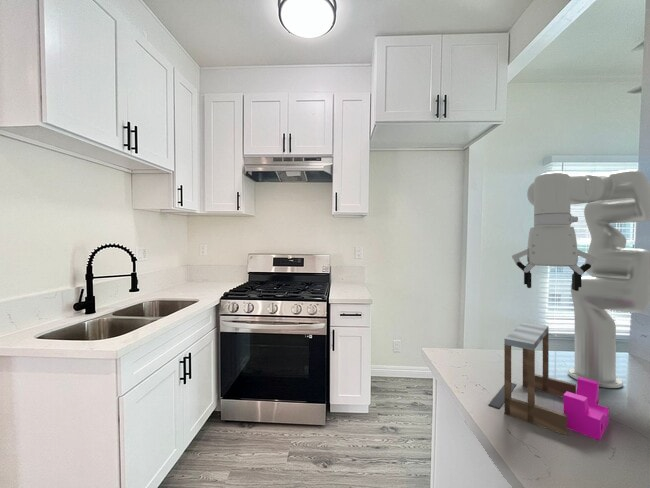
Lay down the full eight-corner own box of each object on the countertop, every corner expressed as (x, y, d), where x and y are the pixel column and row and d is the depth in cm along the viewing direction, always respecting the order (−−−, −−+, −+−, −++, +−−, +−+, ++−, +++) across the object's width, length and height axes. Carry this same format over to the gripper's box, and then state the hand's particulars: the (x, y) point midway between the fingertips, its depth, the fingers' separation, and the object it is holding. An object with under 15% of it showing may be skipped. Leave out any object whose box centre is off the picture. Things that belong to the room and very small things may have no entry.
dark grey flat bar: (506, 382, 92) (506, 381, 92) (516, 385, 90) (516, 384, 90) (488, 405, 79) (488, 404, 79) (499, 409, 77) (499, 407, 77)
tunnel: (523, 384, 90) (523, 322, 90) (575, 398, 82) (575, 330, 82) (504, 414, 75) (504, 338, 75) (566, 435, 67) (566, 350, 67)
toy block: (599, 441, 65) (599, 406, 65) (563, 427, 70) (563, 394, 70) (612, 416, 74) (612, 385, 74) (579, 405, 79) (579, 376, 79)
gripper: (590, 221, 78) (590, 289, 78) (511, 223, 86) (510, 284, 86) (600, 219, 71) (600, 293, 71) (513, 221, 79) (512, 288, 79)
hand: (551, 288), depth 78 cm, fingers open, 9 cm apart
